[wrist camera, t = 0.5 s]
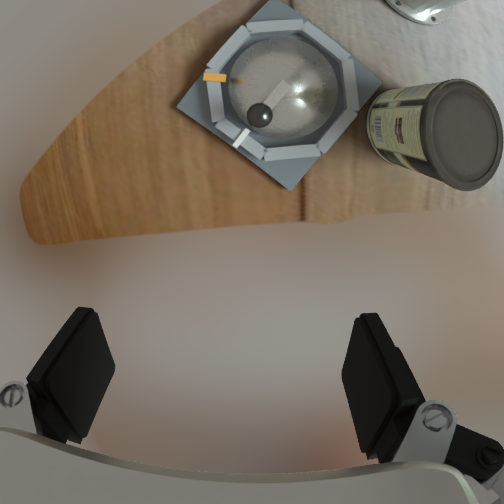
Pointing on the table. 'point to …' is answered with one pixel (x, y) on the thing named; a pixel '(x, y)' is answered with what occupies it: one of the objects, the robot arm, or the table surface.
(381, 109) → the coffee can
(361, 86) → the panel
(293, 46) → the dial
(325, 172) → the table surface
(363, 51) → the table surface
